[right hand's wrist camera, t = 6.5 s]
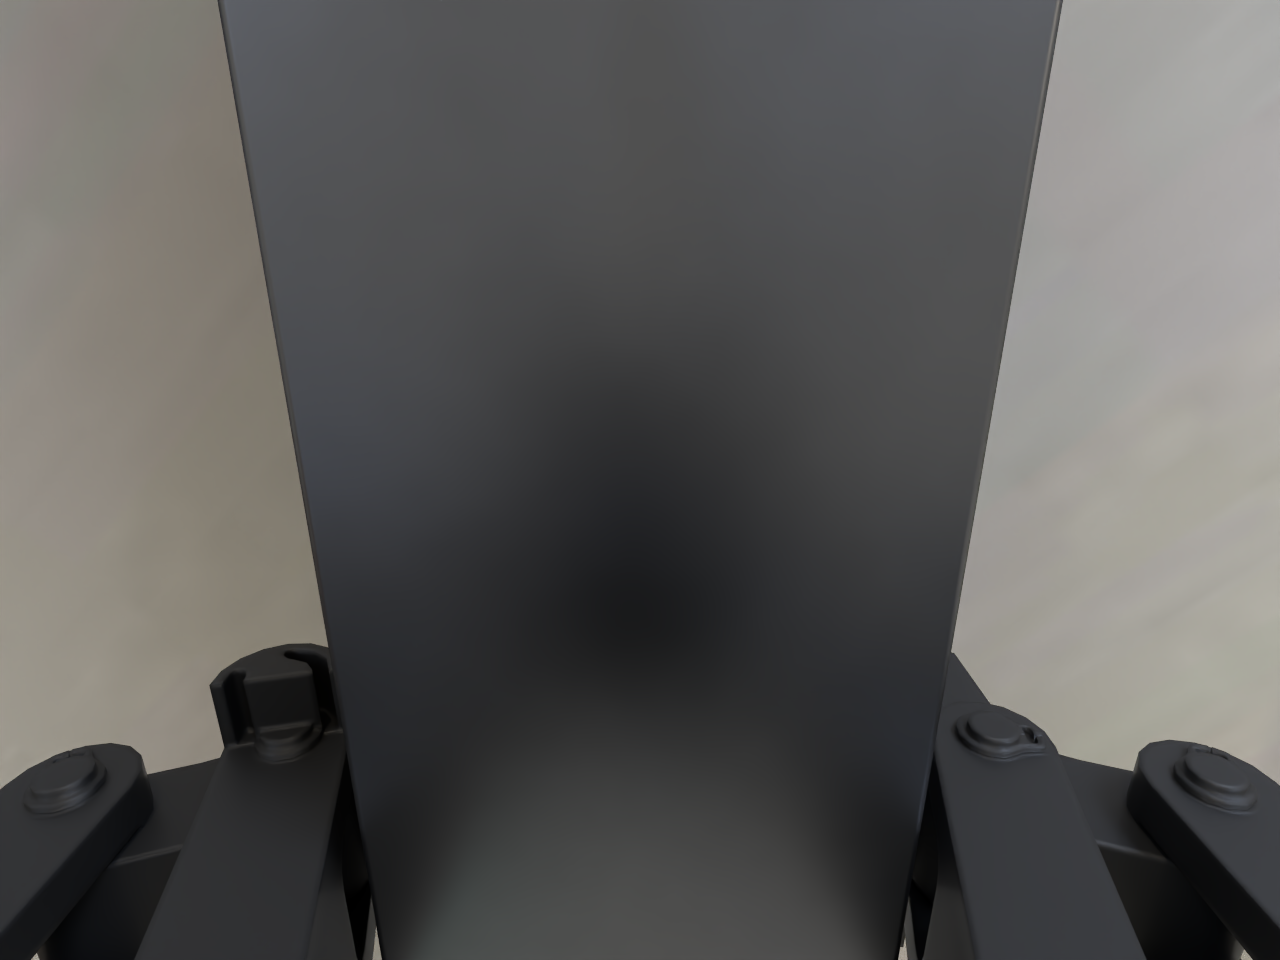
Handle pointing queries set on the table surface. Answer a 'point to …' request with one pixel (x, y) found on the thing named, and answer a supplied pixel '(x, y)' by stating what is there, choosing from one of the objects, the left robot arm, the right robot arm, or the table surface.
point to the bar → (640, 441)
